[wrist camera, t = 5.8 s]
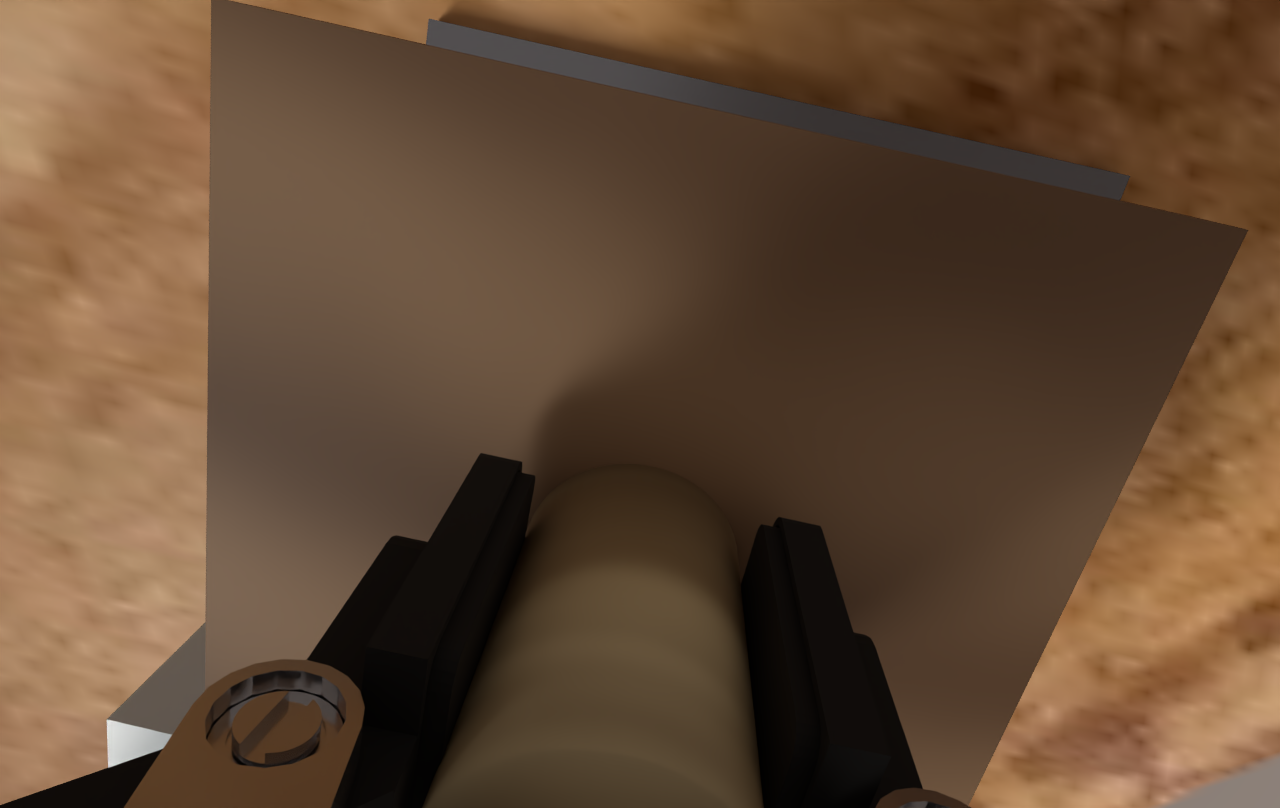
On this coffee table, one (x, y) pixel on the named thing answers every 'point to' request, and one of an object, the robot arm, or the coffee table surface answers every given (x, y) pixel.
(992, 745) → the lid
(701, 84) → the mat
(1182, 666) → the coffee table surface
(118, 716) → the grey square box
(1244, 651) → the coffee table surface
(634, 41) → the coffee table surface
